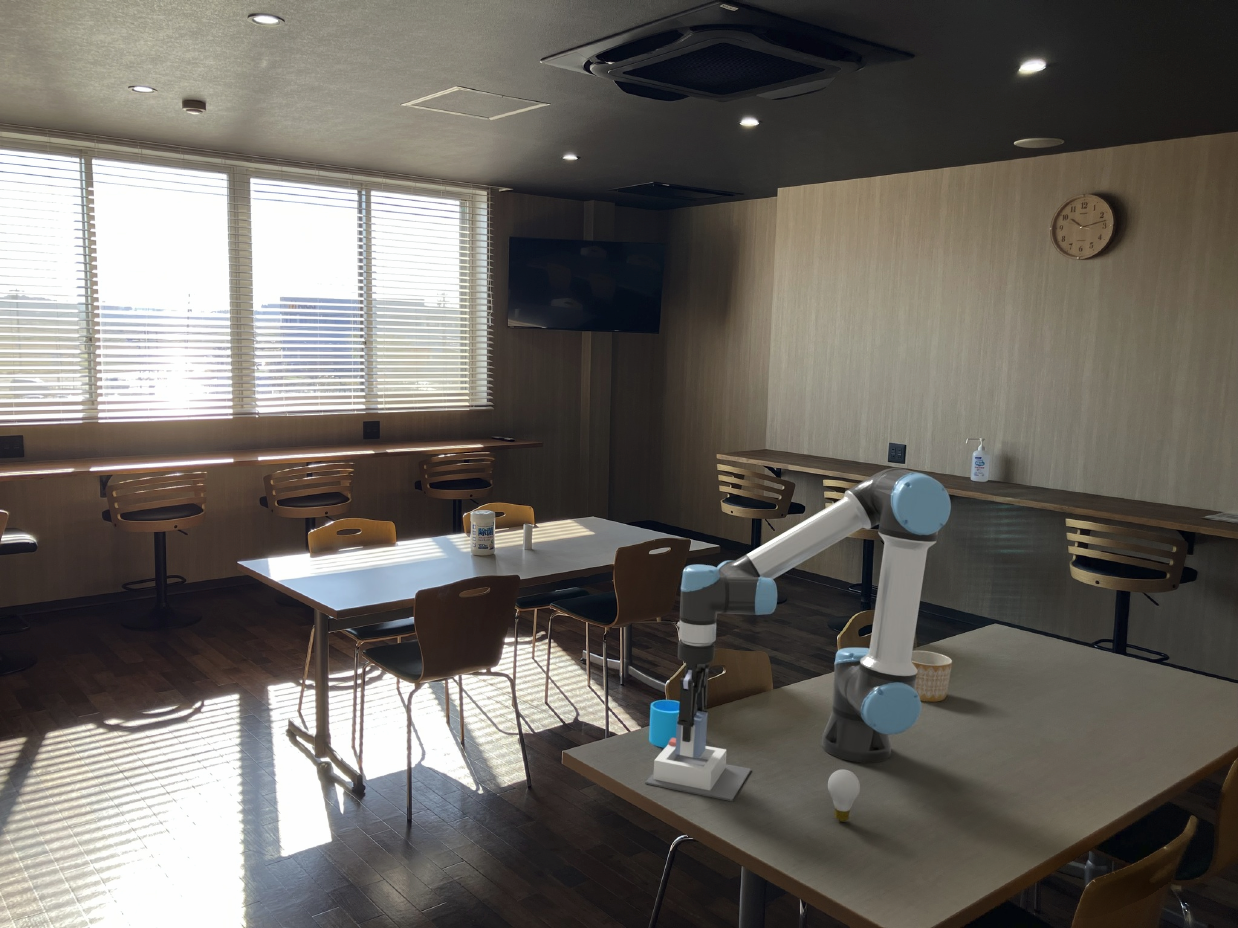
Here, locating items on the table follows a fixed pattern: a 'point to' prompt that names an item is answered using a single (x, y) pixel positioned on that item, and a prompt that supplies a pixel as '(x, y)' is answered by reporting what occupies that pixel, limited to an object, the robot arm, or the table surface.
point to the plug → (700, 734)
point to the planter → (931, 675)
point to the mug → (663, 722)
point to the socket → (698, 773)
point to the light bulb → (843, 792)
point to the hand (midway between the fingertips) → (690, 750)
